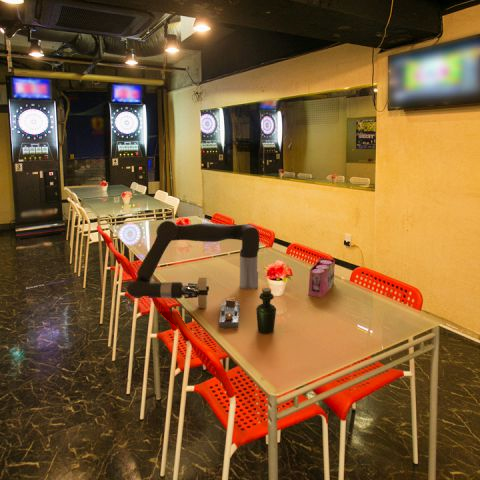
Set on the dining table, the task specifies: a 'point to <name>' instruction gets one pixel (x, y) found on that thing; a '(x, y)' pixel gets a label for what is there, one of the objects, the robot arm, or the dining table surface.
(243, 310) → the dining table surface
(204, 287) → the wood grain block
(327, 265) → the gum box
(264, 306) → the potion bottle
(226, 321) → the hand plane
